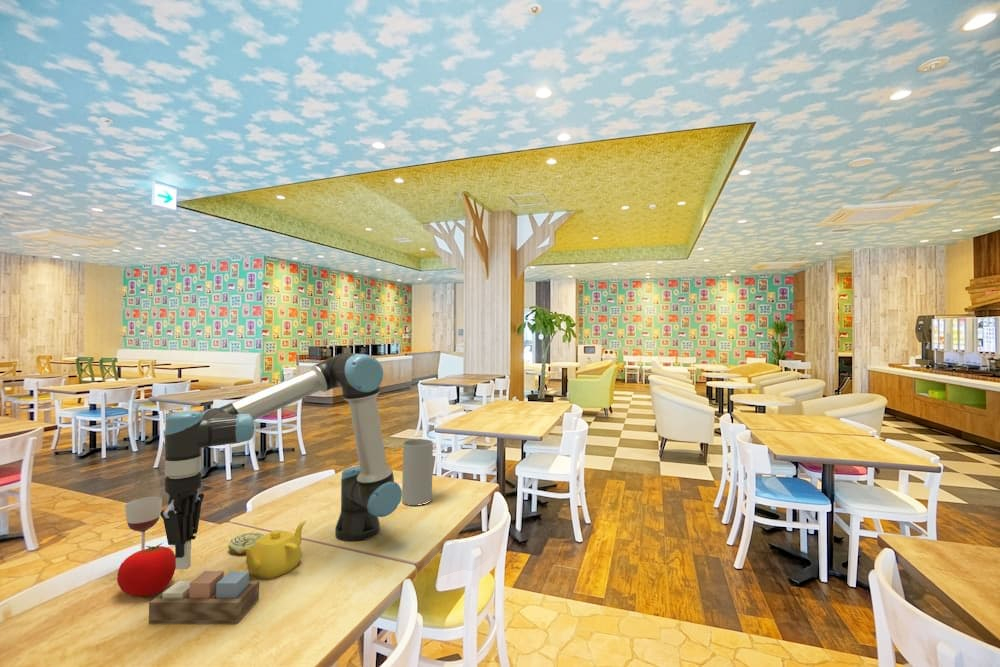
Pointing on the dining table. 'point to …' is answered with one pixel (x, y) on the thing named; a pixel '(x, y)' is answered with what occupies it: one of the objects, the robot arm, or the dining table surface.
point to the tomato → (147, 571)
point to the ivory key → (177, 590)
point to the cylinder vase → (417, 471)
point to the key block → (203, 608)
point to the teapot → (274, 553)
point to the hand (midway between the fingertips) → (183, 567)
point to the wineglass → (143, 514)
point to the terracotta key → (205, 585)
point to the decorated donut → (243, 542)
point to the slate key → (232, 585)
